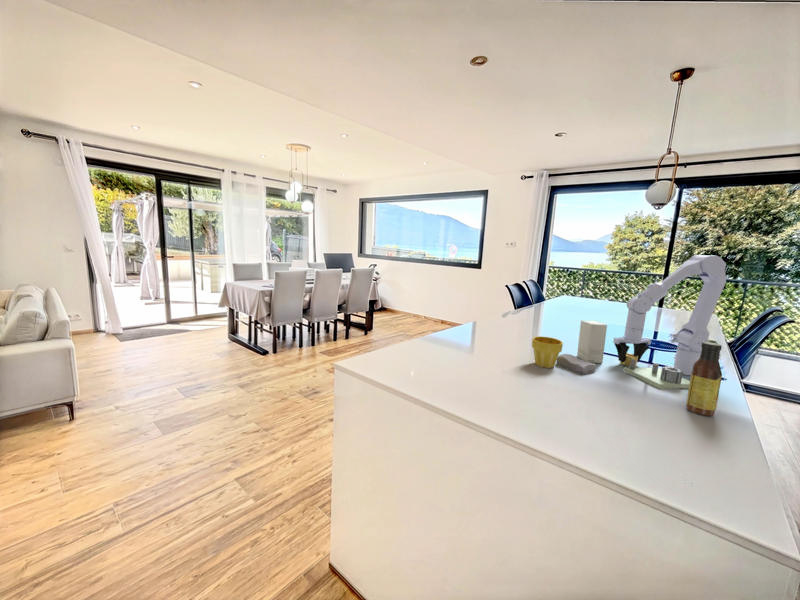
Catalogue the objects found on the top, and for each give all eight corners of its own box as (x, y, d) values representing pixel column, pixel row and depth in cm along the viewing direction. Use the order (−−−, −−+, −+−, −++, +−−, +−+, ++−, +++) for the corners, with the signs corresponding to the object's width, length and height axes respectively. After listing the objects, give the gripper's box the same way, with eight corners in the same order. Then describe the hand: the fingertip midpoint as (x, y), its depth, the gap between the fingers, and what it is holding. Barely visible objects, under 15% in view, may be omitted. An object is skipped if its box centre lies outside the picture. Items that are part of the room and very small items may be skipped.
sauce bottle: (720, 418, 92) (736, 348, 88) (693, 415, 93) (708, 345, 89) (703, 407, 98) (718, 341, 95) (679, 404, 99) (692, 339, 96)
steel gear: (664, 376, 117) (667, 365, 117) (683, 382, 113) (685, 370, 112) (657, 378, 115) (659, 367, 114) (676, 384, 110) (678, 373, 110)
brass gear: (628, 362, 136) (630, 352, 135) (639, 367, 131) (641, 357, 130) (616, 362, 135) (618, 352, 134) (627, 367, 130) (629, 357, 129)
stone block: (569, 365, 134) (553, 363, 129) (573, 354, 133) (556, 351, 129) (597, 378, 123) (580, 376, 119) (602, 365, 123) (584, 363, 118)
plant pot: (540, 370, 121) (543, 344, 119) (524, 360, 131) (527, 336, 129) (565, 369, 123) (569, 344, 122) (548, 360, 133) (551, 336, 132)
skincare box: (602, 363, 132) (608, 325, 130) (585, 362, 132) (591, 324, 130) (591, 356, 141) (596, 320, 138) (575, 355, 141) (580, 319, 138)
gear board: (657, 371, 127) (659, 356, 126) (696, 388, 112) (699, 371, 111) (623, 371, 125) (626, 355, 124) (658, 388, 110) (662, 371, 109)
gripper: (642, 325, 135) (636, 358, 137) (609, 324, 133) (604, 357, 136) (658, 330, 128) (651, 364, 131) (623, 329, 126) (617, 363, 129)
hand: (628, 361), depth 133 cm, fingers open, 6 cm apart
